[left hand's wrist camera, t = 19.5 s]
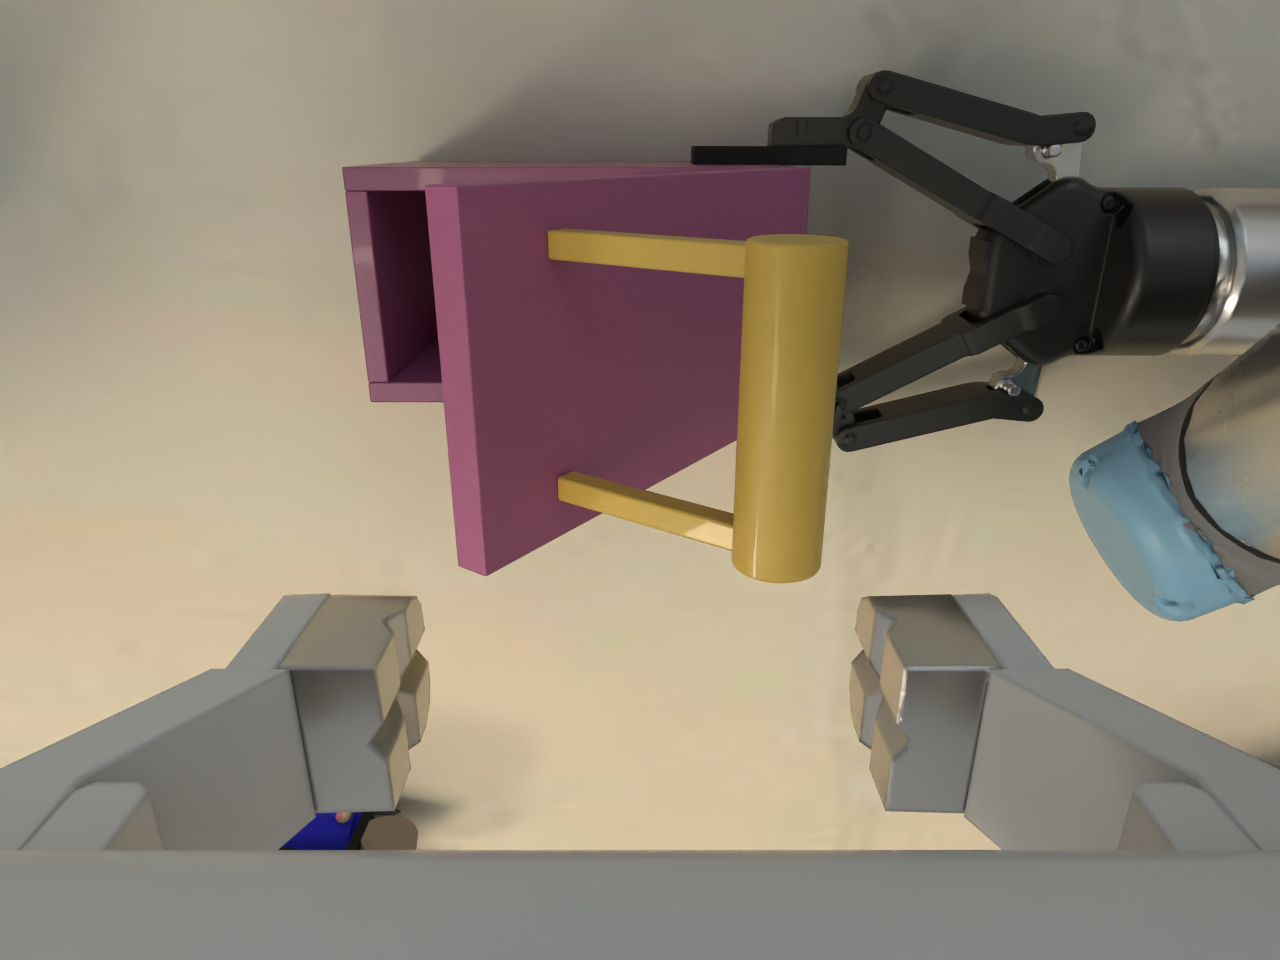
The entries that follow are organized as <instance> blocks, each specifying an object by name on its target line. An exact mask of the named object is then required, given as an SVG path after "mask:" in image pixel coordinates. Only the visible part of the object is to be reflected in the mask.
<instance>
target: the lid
mask: <svg viewBox="0 0 1280 960" xmlns="http://www.w3.org/2000/svg"><path fill="white" fill-rule="evenodd" d="M809 183H810V168H802V167H782V168H761V169H740V170H720V171H699V172H678V173H658V174H637V175H616V176H596V177H575V178H554V179H534V180H513V181H492V182H472V183H451V184H430V185H426V186H425V194H426V206H427V217H428V228H429V240H430V251H431V262H432V273H433V285H434V296H435V307H436V318H437V330H438V341H439V352H440V364H441V375H442V386H443V397H444V409H445V420H446V431H447V443H448V454H449V465H450V476H451V488H452V499H453V510H454V521H455V533H456V544H457V555H458V565H459V566H460V567H462V568H465V569H468V570H470V571H473V572H476V573H478V574H481V575H484V576H488V575H489V574H491V573H493V572H495V571H497V570H499V569H500V568H502V567H504V566H506V565H508V564H510V563H511V562H513V561H515V560H517V559H519V558H521V557H523V556H524V555H526V554H528V553H530V552H532V551H534V550H535V549H537V548H539V547H541V546H543V545H545V544H546V543H548V542H550V541H552V540H554V539H556V538H557V537H559V536H561V535H563V534H565V533H567V532H568V531H570V530H572V529H574V528H576V527H578V526H579V525H581V524H583V523H585V522H587V521H589V520H590V519H592V518H594V517H596V516H598V515H600V514H602V513H605V514H608V515H611V516H615V517H618V518H622V519H625V520H628V521H632V522H635V523H639V524H642V525H646V526H649V527H652V528H656V529H659V530H663V531H666V532H669V533H673V534H676V535H680V536H683V537H686V538H690V539H693V540H697V541H700V542H703V543H707V544H710V545H714V546H717V547H721V548H724V549H727V550H731V551H732V562H733V564H734V566H735V567H736V569H737V570H738V571H740V572H741V573H743V574H744V575H746V576H748V577H751V578H754V579H757V580H760V581H765V582H772V583H792V582H799V581H803V580H806V579H808V578H810V577H812V576H814V575H815V574H816V573H817V572H818V570H819V569H820V566H821V556H822V545H823V534H824V522H825V511H826V500H827V488H828V477H829V466H830V454H831V443H832V432H833V420H834V409H835V398H836V386H837V375H838V364H839V352H840V341H841V330H842V318H843V307H844V295H845V284H846V273H847V261H848V250H849V243H848V240H846V239H843V238H840V237H834V236H825V235H810V234H806V226H807V212H808V198H809ZM736 440H737V451H736V473H735V496H734V514H732V513H729V512H725V511H721V510H717V509H714V508H710V507H706V506H702V505H699V504H695V503H691V502H687V501H684V500H680V499H676V498H672V497H669V496H665V495H661V494H657V493H654V492H650V491H646V489H647V488H649V487H651V486H653V485H655V484H657V483H658V482H660V481H662V480H664V479H666V478H668V477H669V476H671V475H673V474H675V473H677V472H679V471H680V470H682V469H684V468H686V467H688V466H690V465H692V464H693V463H695V462H697V461H699V460H701V459H703V458H704V457H706V456H708V455H710V454H712V453H714V452H715V451H717V450H719V449H721V448H723V447H725V446H726V445H728V444H730V443H732V442H734V441H736Z"/></svg>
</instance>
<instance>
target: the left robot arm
mask: <svg viewBox="0 0 1280 960" xmlns="http://www.w3.org/2000/svg"><path fill="white" fill-rule="evenodd" d="M424 630H425V628H424V620H423V613H422V606H421V603H420V602H419V600H418V598H417V596H387V595H330V594H294V595H286V596H283V597H282V598H281V600H280V601H279V602H278V603H277V605H276V606H275V607H274V608H273V610H272V611H271V612H270V613H269V615H268V616H267V617H266V618H265V620H264V621H263V622H262V623H261V625H260V626H259V627H258V628H257V630H256V631H255V632H254V633H253V635H252V636H251V637H250V638H249V640H248V641H247V642H246V643H245V645H244V646H243V647H242V648H241V650H240V651H239V652H238V653H237V655H236V656H235V657H234V658H233V660H232V661H231V662H230V664H229V665H228V666H227V667H226V669H210V670H208V671H206V672H204V673H202V674H200V675H198V676H195V677H193V678H191V679H189V680H187V681H185V682H183V683H181V684H179V685H176V686H174V687H172V688H170V689H168V690H166V691H164V692H162V693H159V694H157V695H155V696H153V697H151V698H149V699H147V700H145V701H143V702H140V703H138V704H136V705H134V706H132V707H130V708H128V709H126V710H124V711H121V712H119V713H117V714H115V715H113V716H111V717H109V718H107V719H105V720H102V721H100V722H98V723H96V724H94V725H92V726H90V727H88V728H85V729H83V730H81V731H79V732H77V733H75V734H73V735H71V736H69V737H66V738H64V739H62V740H60V741H58V742H56V743H54V744H52V745H50V746H47V747H45V748H43V749H41V750H39V751H37V752H35V753H33V754H31V755H28V756H26V757H24V758H22V759H20V760H18V761H16V762H14V763H11V764H9V765H7V766H5V767H3V768H1V769H0V960H1280V769H1278V768H1276V767H1274V766H1272V765H1270V764H1268V763H1266V762H1264V761H1262V760H1259V759H1257V758H1255V757H1253V756H1251V755H1249V754H1247V753H1245V752H1243V751H1240V750H1238V749H1236V748H1234V747H1232V746H1230V745H1228V744H1226V743H1224V742H1222V741H1219V740H1217V739H1215V738H1213V737H1211V736H1209V735H1207V734H1205V733H1203V732H1200V731H1198V730H1196V729H1194V728H1192V727H1190V726H1188V725H1186V724H1184V723H1181V722H1179V721H1177V720H1175V719H1173V718H1171V717H1169V716H1167V715H1165V714H1163V713H1160V712H1158V711H1156V710H1154V709H1152V708H1150V707H1148V706H1146V705H1144V704H1141V703H1139V702H1137V701H1135V700H1133V699H1131V698H1129V697H1127V696H1125V695H1122V694H1120V693H1118V692H1116V691H1114V690H1112V689H1110V688H1108V687H1106V686H1103V685H1101V684H1099V683H1097V682H1095V681H1093V680H1091V679H1089V678H1087V677H1085V676H1082V675H1080V674H1078V673H1076V672H1074V671H1072V670H1070V669H1054V667H1053V666H1052V665H1051V664H1050V662H1049V661H1048V660H1047V659H1046V657H1045V656H1044V655H1043V654H1042V652H1041V651H1040V650H1039V649H1038V647H1037V646H1036V645H1035V644H1034V642H1033V641H1032V640H1031V639H1030V637H1029V636H1028V635H1027V634H1026V632H1025V631H1024V630H1023V629H1022V627H1021V626H1020V625H1019V624H1018V622H1017V621H1016V620H1015V619H1014V617H1013V616H1012V615H1011V614H1010V612H1009V611H1008V610H1007V609H1006V607H1005V606H1004V605H1003V604H1002V602H1001V601H1000V600H999V599H998V597H996V596H994V595H991V594H989V593H986V594H963V595H951V594H948V595H907V596H868V597H864V598H861V601H860V604H859V607H858V611H857V619H856V627H855V630H856V633H857V635H858V637H859V640H860V642H861V644H862V647H863V650H862V651H861V653H860V654H859V655H858V656H857V657H856V658H855V659H854V660H853V661H852V664H851V677H850V702H851V713H852V718H853V722H854V727H855V730H856V733H857V736H858V738H859V741H860V742H861V743H862V744H864V745H865V746H867V747H868V748H869V749H871V758H870V767H869V769H870V771H871V774H872V777H873V779H874V782H875V785H876V787H877V790H878V792H879V795H880V798H881V800H882V803H883V806H884V808H885V811H902V812H939V813H965V814H964V817H965V818H966V819H967V820H969V821H970V822H971V823H972V824H973V825H974V826H975V827H977V828H978V829H979V830H980V831H981V832H982V833H984V834H985V835H986V836H987V837H988V838H989V839H990V840H992V841H993V842H994V843H995V844H996V845H997V846H998V847H1000V848H1001V849H1002V850H278V849H280V848H281V847H282V846H283V845H284V844H285V843H287V842H288V841H289V840H290V839H291V838H292V837H293V836H295V835H296V834H297V833H298V832H299V831H300V830H302V829H303V828H304V827H305V826H306V825H307V824H308V823H310V822H311V821H312V820H313V819H314V818H315V813H340V812H376V811H395V809H396V806H397V803H398V801H399V798H400V795H401V793H402V790H403V787H404V785H405V782H406V779H407V777H408V774H409V771H410V769H411V767H410V759H409V749H411V748H412V747H413V746H415V745H416V744H418V743H419V742H420V741H421V738H422V735H423V733H424V730H425V727H426V723H427V717H428V710H429V703H430V675H429V664H428V661H427V660H426V659H425V658H424V657H423V656H422V655H421V654H420V653H419V651H418V650H417V647H418V644H419V642H420V640H421V637H422V635H423V633H424Z"/></svg>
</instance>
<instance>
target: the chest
mask: <svg viewBox="0 0 1280 960" xmlns="http://www.w3.org/2000/svg"><path fill="white" fill-rule="evenodd" d="M782 167H791V166H785V165H694V164H692V163H691V161H413V162H400V163H387V164H375V165H362V166H349V167H343V168H342V170H343V178H344V187H345V190H346V192H345V194H346V202H347V211H348V219H349V227H350V235H351V243H352V252H353V260H354V268H355V276H356V285H357V293H358V301H359V309H360V317H361V326H362V334H363V342H364V350H365V358H366V367H367V375H368V381H369V391H370V399H371V402H444V397H443V386H442V375H441V364H440V352H439V341H438V330H437V318H436V307H435V296H434V285H433V273H432V262H431V251H430V240H429V228H428V217H427V206H426V194H425V186H426V185H430V184H451V183H472V182H492V181H513V180H534V179H554V178H575V177H596V176H616V175H637V174H658V173H678V172H699V171H720V170H740V169H761V168H782Z"/></svg>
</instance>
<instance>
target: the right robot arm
mask: <svg viewBox="0 0 1280 960" xmlns="http://www.w3.org/2000/svg"><path fill="white" fill-rule="evenodd" d="M886 110H888V111H891V112H895V113H898V114H902V115H905V116H908V117H912V118H915V119H919V120H922V121H926V122H929V123H933V124H936V125H939V126H943V127H946V128H950V129H953V130H957V131H960V132H963V133H967V134H970V135H974V136H977V137H981V138H984V139H988V140H991V141H994V142H998V143H1002V144H1007V145H1017V146H1026V157H1027V159H1028V160H1029V161H1030V162H1031V163H1034V164H1039V165H1041V166H1043V167H1044V168H1045V169H1046V171H1047V173H1048V179H1046V180H1045V181H1043V182H1042V183H1040V184H1039V185H1037V186H1036V187H1034V188H1033V189H1031V190H1030V191H1028V192H1027V193H1025V194H1024V195H1022V196H1021V197H1019V198H1018V199H1017V200H1015V201H1014V202H1012V203H1010V202H1008V201H1007V200H1005V199H1003V198H1002V197H1000V196H998V195H996V194H993V193H991V192H989V191H987V190H986V189H984V188H982V187H981V186H979V185H978V184H976V183H974V182H973V181H971V180H969V179H968V178H966V177H965V176H963V175H961V174H960V173H958V172H956V171H955V170H953V169H952V168H950V167H948V166H947V165H945V164H943V163H942V162H940V161H939V160H937V159H935V158H934V157H932V156H930V155H929V154H927V153H926V152H924V151H922V150H921V149H919V148H917V147H916V146H914V145H913V144H911V143H909V142H908V141H906V140H904V139H903V138H901V137H900V136H898V135H896V134H895V133H893V132H892V131H890V130H888V129H887V128H885V127H883V126H882V125H880V122H881V120H882V118H883V115H884V113H885V111H886ZM1095 127H1096V121H1095V119H1094V117H1093V115H1091V114H1090V113H1088V112H1075V113H1061V114H1050V115H1037V114H1034V113H1031V112H1027V111H1024V110H1020V109H1017V108H1014V107H1010V106H1007V105H1004V104H1000V103H997V102H993V101H990V100H987V99H983V98H980V97H976V96H973V95H970V94H966V93H963V92H959V91H956V90H953V89H949V88H946V87H943V86H939V85H936V84H932V83H929V82H926V81H922V80H919V79H915V78H912V77H909V76H905V75H902V74H898V73H895V72H892V71H886V70H883V71H880V72H876V73H873V74H870V75H867V76H864V77H863V78H862V79H861V80H860V81H859V83H858V85H857V89H856V95H855V97H854V99H853V102H852V104H851V106H850V108H849V110H848V111H847V112H846V113H845V114H844V115H842V116H841V117H784V118H780V119H777V120H775V121H773V122H770V123H769V129H768V146H692V147H691V163H692V164H694V165H846V157H847V148H848V149H850V150H851V151H853V152H854V153H856V154H858V155H859V156H861V157H863V158H864V159H866V160H868V161H869V162H871V163H873V164H874V165H876V166H878V167H879V168H881V169H883V170H884V171H886V172H887V173H889V174H891V175H892V176H894V177H896V178H897V179H899V180H901V181H902V182H904V183H906V184H907V185H909V186H911V187H912V188H914V189H916V190H917V191H919V192H920V193H922V194H924V195H925V196H927V197H929V198H930V199H932V200H934V201H935V202H937V203H939V204H940V205H942V206H944V207H945V208H947V209H949V210H950V211H952V212H953V213H955V214H956V215H957V216H958V217H960V218H961V219H963V220H964V221H966V222H968V223H969V224H971V225H973V226H974V227H976V228H978V231H977V233H976V235H975V236H971V238H970V246H969V262H970V273H969V275H968V278H967V280H966V283H965V285H964V289H963V296H962V303H963V304H965V306H966V307H965V308H963V309H961V310H959V311H957V312H955V313H952V314H950V315H948V316H947V317H945V318H944V319H943V320H942V321H941V323H939V324H938V325H936V326H934V327H932V328H930V329H928V330H926V331H924V332H922V333H920V334H918V335H916V336H914V337H912V338H910V339H907V340H905V341H903V342H901V343H899V344H897V345H895V346H893V347H891V348H889V349H887V350H885V351H883V352H881V353H879V354H877V355H875V356H873V357H871V358H869V359H867V360H865V361H863V362H861V363H859V364H857V365H855V366H853V367H851V368H849V369H847V370H845V371H843V372H841V373H839V374H838V375H837V386H836V398H835V409H834V420H833V432H832V437H833V439H834V441H835V442H836V444H837V445H838V447H839V448H840V449H841V450H843V451H845V452H851V451H856V450H860V449H864V448H869V447H873V446H877V445H881V444H886V443H890V442H894V441H898V440H903V439H907V438H911V437H916V436H920V435H924V434H928V433H933V432H937V431H941V430H945V429H950V428H954V427H958V426H963V425H967V424H971V423H975V422H980V421H984V420H988V419H993V418H995V419H1005V420H1016V421H1026V422H1029V421H1034V420H1036V419H1038V418H1039V417H1040V416H1041V414H1042V412H1043V407H1044V406H1043V403H1042V402H1041V401H1040V400H1039V399H1038V398H1036V395H1037V392H1038V388H1039V384H1040V381H1041V377H1042V374H1043V370H1044V366H1045V365H1048V364H1051V363H1053V362H1055V361H1057V360H1059V359H1061V358H1064V357H1067V356H1072V355H1162V354H1165V353H1168V352H1169V353H1171V354H1174V355H1186V356H1187V355H1241V356H1240V357H1239V358H1238V359H1236V360H1235V361H1234V362H1233V363H1232V364H1230V365H1229V366H1228V367H1227V368H1226V369H1224V370H1223V371H1222V372H1220V373H1219V374H1217V375H1216V376H1215V377H1213V378H1212V379H1211V380H1210V381H1208V382H1207V383H1206V384H1205V385H1203V386H1202V387H1201V388H1200V389H1199V390H1197V391H1196V392H1195V393H1194V394H1193V395H1191V396H1190V397H1188V398H1187V399H1185V400H1184V401H1182V402H1180V403H1178V404H1176V405H1175V406H1173V407H1171V408H1169V409H1167V410H1164V411H1162V412H1160V413H1158V414H1156V415H1154V416H1152V417H1150V418H1148V419H1145V420H1143V421H1141V422H1138V423H1136V422H1137V421H1134V422H1132V423H1130V424H1128V425H1126V426H1125V429H1124V430H1123V431H1122V432H1120V433H1118V434H1117V435H1115V436H1113V437H1111V438H1109V439H1108V440H1106V441H1104V442H1102V443H1100V444H1098V445H1097V446H1095V447H1093V448H1091V449H1089V450H1087V451H1086V452H1084V453H1082V454H1081V455H1080V456H1079V457H1078V458H1077V459H1076V460H1075V462H1074V463H1073V465H1072V468H1071V471H1070V478H1069V480H1070V490H1071V495H1072V499H1073V502H1074V505H1075V507H1076V510H1077V512H1078V515H1079V517H1080V519H1081V521H1082V524H1083V526H1084V528H1085V530H1086V532H1087V533H1088V535H1089V537H1090V539H1091V540H1092V542H1093V544H1094V546H1095V547H1096V549H1097V550H1098V552H1099V554H1100V555H1101V557H1102V558H1103V560H1104V561H1105V563H1106V564H1107V566H1108V567H1109V569H1110V570H1111V571H1112V573H1113V574H1114V575H1115V577H1116V578H1117V579H1118V581H1119V582H1120V583H1121V584H1122V586H1123V587H1124V588H1125V589H1126V590H1127V591H1128V593H1129V594H1130V595H1131V596H1132V597H1133V598H1134V599H1135V600H1136V601H1137V602H1139V603H1140V604H1141V605H1142V606H1143V607H1144V608H1146V609H1147V610H1149V611H1150V612H1151V613H1153V614H1155V615H1157V616H1159V617H1161V618H1163V619H1167V620H1171V621H1187V620H1191V619H1194V618H1197V617H1199V616H1202V615H1205V614H1207V613H1210V612H1212V611H1215V610H1218V609H1220V608H1223V607H1225V606H1228V605H1231V604H1233V603H1241V604H1245V603H1248V602H1250V601H1252V600H1254V598H1252V597H1254V596H1255V595H1256V594H1259V593H1261V592H1263V591H1265V590H1267V589H1269V588H1272V587H1274V586H1276V585H1279V584H1280V188H1202V189H1197V190H1194V191H1191V190H1188V189H1185V188H1098V187H1095V186H1093V185H1091V184H1089V183H1088V182H1086V181H1085V180H1083V179H1081V178H1079V175H1080V163H1081V152H1082V142H1083V141H1086V140H1087V139H1089V138H1090V137H1091V136H1092V134H1093V133H1094V131H1095ZM999 344H1001V345H1002V346H1004V347H1005V348H1006V349H1007V350H1009V351H1010V352H1011V353H1012V354H1014V355H1015V356H1016V357H1017V360H1016V363H1015V364H1014V365H1013V366H1012V367H1011V368H1009V369H1007V370H1002V371H998V372H996V373H994V374H992V375H991V377H990V380H989V382H971V383H966V384H961V385H957V386H952V387H948V388H944V389H940V390H936V391H932V392H927V393H923V394H919V395H915V396H911V397H906V398H902V399H898V400H894V401H890V402H885V403H881V404H877V405H873V406H869V407H865V408H860V407H862V406H864V405H866V404H868V403H871V402H873V401H875V400H877V399H879V398H881V397H883V396H885V395H887V394H889V393H891V392H893V391H895V390H897V389H899V388H901V387H903V386H905V385H907V384H910V383H912V382H914V381H916V380H918V379H920V378H922V377H924V376H926V375H928V374H930V373H932V372H934V371H936V370H938V369H940V368H942V367H944V366H946V365H949V364H951V363H953V362H955V361H957V360H959V359H961V358H963V357H966V356H973V355H977V354H980V353H982V352H984V351H986V350H988V349H990V348H992V347H995V346H997V345H999ZM858 408H860V409H858Z"/></svg>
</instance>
